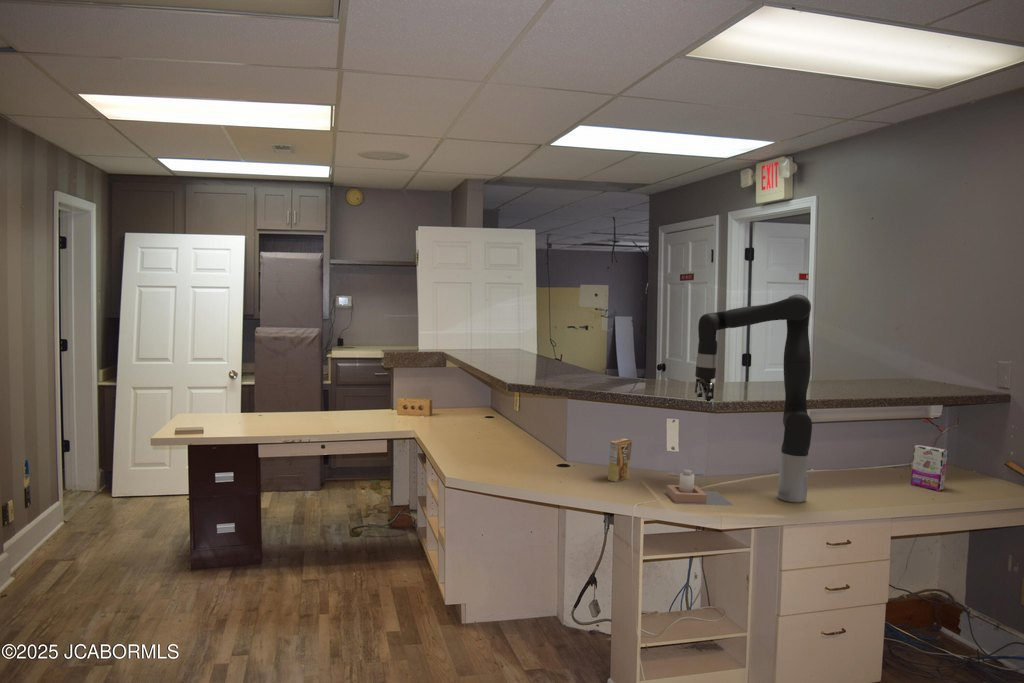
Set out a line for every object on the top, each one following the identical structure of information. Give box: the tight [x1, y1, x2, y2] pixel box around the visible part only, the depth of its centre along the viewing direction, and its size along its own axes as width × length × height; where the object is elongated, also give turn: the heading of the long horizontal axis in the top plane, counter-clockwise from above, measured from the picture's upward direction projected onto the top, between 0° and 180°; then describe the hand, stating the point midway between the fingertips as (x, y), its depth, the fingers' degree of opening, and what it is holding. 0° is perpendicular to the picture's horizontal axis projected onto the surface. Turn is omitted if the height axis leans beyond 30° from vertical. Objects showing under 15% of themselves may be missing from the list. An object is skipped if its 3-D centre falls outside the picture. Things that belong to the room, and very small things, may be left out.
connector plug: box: [678, 468, 695, 493], centre depth 265 cm, size 5×5×10 cm
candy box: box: [607, 438, 633, 483], centre depth 289 cm, size 9×4×15 cm, turn 137°
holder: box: [662, 484, 734, 506], centre depth 267 cm, size 21×16×4 cm
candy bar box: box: [910, 444, 948, 492], centre depth 300 cm, size 11×5×16 cm, turn 40°
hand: (703, 407), depth 285 cm, fingers open, 8 cm apart
